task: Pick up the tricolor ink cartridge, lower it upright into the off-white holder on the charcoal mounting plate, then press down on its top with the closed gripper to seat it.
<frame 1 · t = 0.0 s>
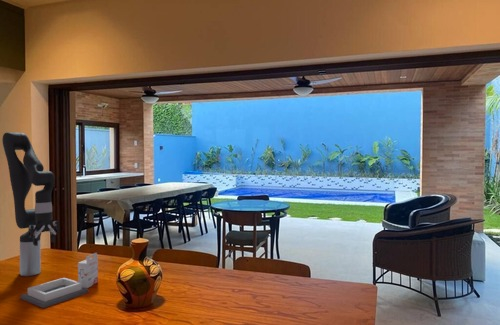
hand: (44, 243, 186), 17 cm above the table, tool pointing down, fingers open, 8 cm apart
cartridge holder: (55, 295, 163), on the table
ink cartridge box: (88, 285, 177), on the table
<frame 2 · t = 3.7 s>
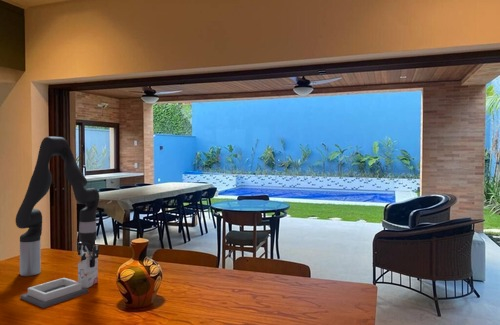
hand: (88, 265, 177), 9 cm above the table, tool pointing down, fingers closed on ink cartridge box, 6 cm apart
ink cartridge box: (88, 285, 177), on the table, touching gripper
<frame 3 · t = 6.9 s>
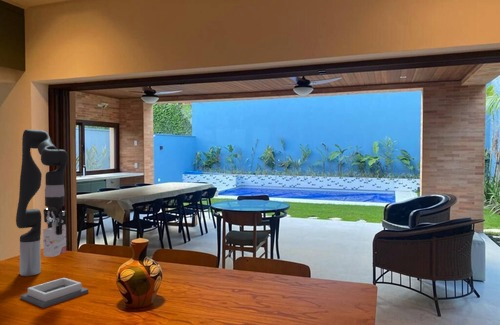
hand: (54, 233, 163), 27 cm above the table, tool pointing down, fingers closed on ink cartridge box, 6 cm apart
ink cartridge box: (54, 254, 163), point 18 cm above the table, touching gripper
when the fingers open (12 cm above the table, at t = 10.3 s): ink cartridge box stays where it is, resting on cartridge holder.
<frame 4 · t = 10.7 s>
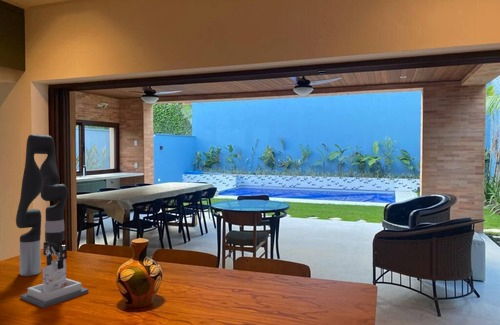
hand: (55, 267, 163), 13 cm above the table, tool pointing down, fingers open, 8 cm apart
ink cartridge box: (54, 291, 163), point 2 cm above the table, touching cartridge holder
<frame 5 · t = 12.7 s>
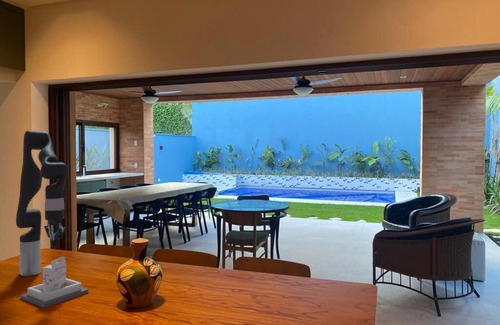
hand: (54, 247, 163), 21 cm above the table, tool pointing down, fingers closed
nothing on the table moved.
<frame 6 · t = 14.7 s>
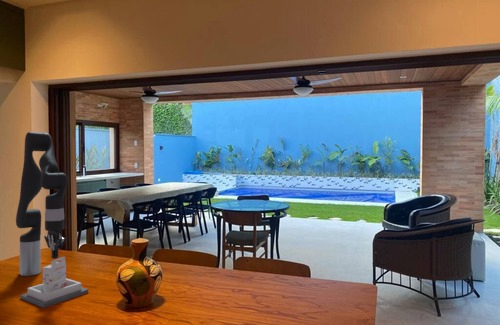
hand: (54, 258, 163), 17 cm above the table, tool pointing down, fingers closed
nothing on the table moved.
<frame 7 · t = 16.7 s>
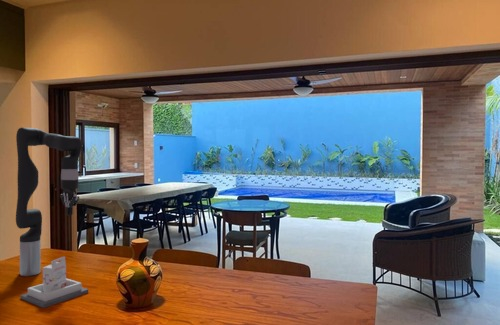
hand: (69, 214, 177), 33 cm above the table, tool pointing down, fingers closed
nothing on the table moved.
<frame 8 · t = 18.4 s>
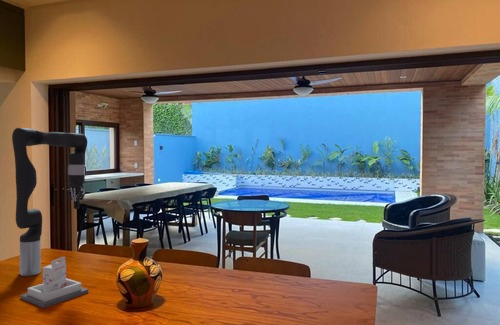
hand: (76, 208, 184), 35 cm above the table, tool pointing down, fingers closed
nothing on the table moved.
at the end: ink cartridge box 0.3 cm off-centre on the cartridge holder, point 1.6 cm above the cartridge holder's base; ink cartridge box tilted 0°; the gripper is holding nothing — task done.
